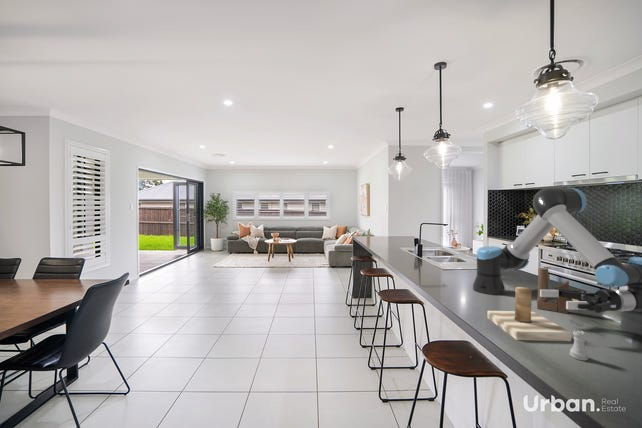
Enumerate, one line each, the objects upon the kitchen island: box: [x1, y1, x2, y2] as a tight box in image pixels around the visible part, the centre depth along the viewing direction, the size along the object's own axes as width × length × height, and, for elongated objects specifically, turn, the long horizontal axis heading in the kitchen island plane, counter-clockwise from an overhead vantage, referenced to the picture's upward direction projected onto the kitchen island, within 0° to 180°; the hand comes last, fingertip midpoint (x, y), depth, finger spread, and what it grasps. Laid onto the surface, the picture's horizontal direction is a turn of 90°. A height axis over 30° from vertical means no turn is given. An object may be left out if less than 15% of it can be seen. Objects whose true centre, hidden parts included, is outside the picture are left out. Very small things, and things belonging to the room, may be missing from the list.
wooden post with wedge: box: [536, 267, 570, 314], centre depth 132 cm, size 4×11×18 cm, turn 55°
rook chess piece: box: [569, 329, 590, 362], centre depth 91 cm, size 4×4×8 cm
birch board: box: [486, 310, 573, 342], centre depth 112 cm, size 20×18×3 cm
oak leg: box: [514, 286, 533, 323], centre depth 112 cm, size 5×5×15 cm
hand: (552, 298), depth 111 cm, fingers open, 13 cm apart
